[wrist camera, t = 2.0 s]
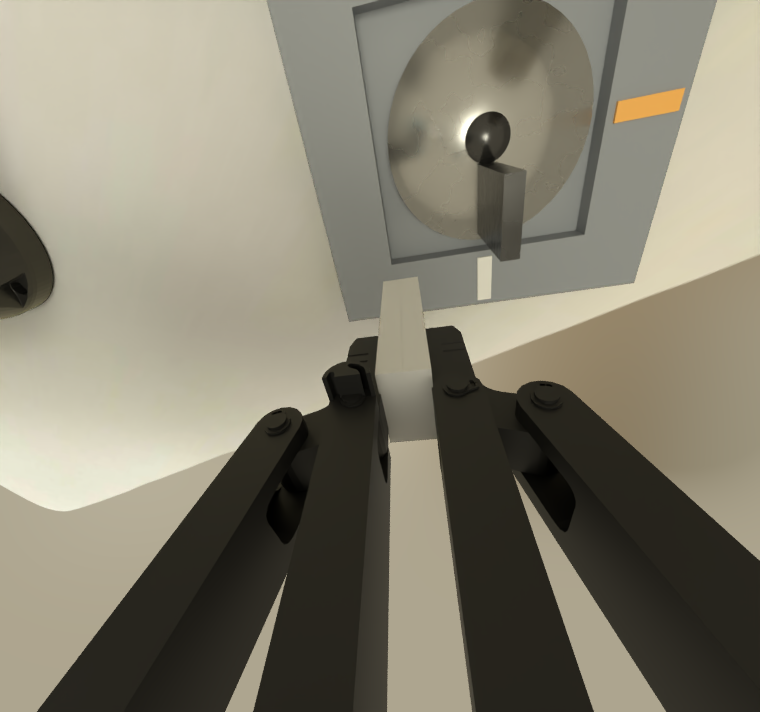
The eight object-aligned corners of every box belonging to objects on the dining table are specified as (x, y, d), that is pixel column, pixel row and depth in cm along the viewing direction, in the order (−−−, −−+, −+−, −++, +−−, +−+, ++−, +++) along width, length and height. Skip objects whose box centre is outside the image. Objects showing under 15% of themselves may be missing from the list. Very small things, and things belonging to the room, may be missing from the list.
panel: (352, 308, 34) (348, 322, 31) (259, -72, 20) (239, -104, 17) (614, 271, 31) (635, 283, 28) (738, -220, 16) (805, -288, 14)
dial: (400, 247, 29) (403, 283, 22) (372, 31, 21) (361, -19, 14) (566, 220, 27) (626, 250, 20) (603, -27, 19) (722, -118, 12)
